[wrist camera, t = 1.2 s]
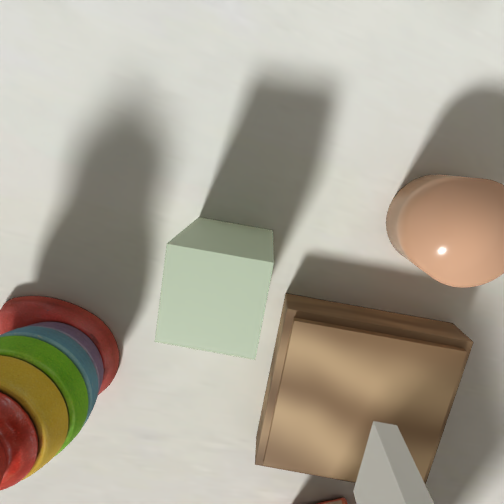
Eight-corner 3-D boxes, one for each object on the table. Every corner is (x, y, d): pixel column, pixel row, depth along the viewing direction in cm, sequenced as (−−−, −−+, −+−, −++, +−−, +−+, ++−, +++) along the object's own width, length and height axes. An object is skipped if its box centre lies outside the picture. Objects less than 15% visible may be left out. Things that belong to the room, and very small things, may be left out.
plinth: (285, 293, 32) (287, 311, 28) (452, 323, 32) (477, 345, 28) (256, 436, 36) (254, 469, 32) (407, 463, 36) (424, 500, 32)
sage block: (199, 217, 31) (166, 243, 22) (272, 230, 31) (273, 262, 22) (189, 287, 33) (154, 341, 23) (259, 300, 33) (255, 360, 23)
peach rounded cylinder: (398, 166, 30) (430, 169, 24) (490, 183, 30) (543, 189, 24) (376, 254, 31) (400, 277, 26) (462, 270, 31) (506, 296, 25)
